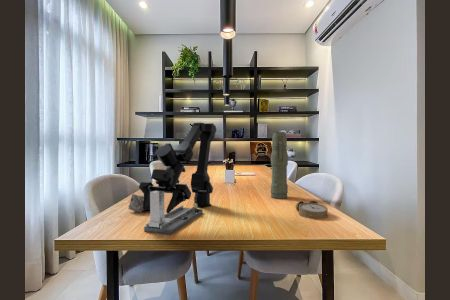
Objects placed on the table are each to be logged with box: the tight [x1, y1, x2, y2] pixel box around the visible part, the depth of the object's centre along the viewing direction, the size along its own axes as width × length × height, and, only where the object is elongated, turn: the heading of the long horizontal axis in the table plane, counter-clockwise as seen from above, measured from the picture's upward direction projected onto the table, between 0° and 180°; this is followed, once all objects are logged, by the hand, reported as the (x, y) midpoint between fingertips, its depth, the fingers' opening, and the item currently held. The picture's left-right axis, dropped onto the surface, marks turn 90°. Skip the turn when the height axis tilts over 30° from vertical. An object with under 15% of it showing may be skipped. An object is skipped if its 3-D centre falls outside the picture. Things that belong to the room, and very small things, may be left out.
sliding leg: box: [148, 191, 171, 228], centre depth 83 cm, size 4×7×11 cm, turn 71°
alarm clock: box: [295, 200, 330, 220], centre depth 102 cm, size 11×5×15 cm
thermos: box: [270, 131, 289, 200], centre depth 131 cm, size 9×12×35 cm
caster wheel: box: [128, 193, 150, 214], centre depth 108 cm, size 7×11×10 cm
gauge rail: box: [143, 203, 204, 236], centre depth 92 cm, size 26×10×4 cm, turn 161°
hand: (155, 211), depth 82 cm, fingers open, 9 cm apart
